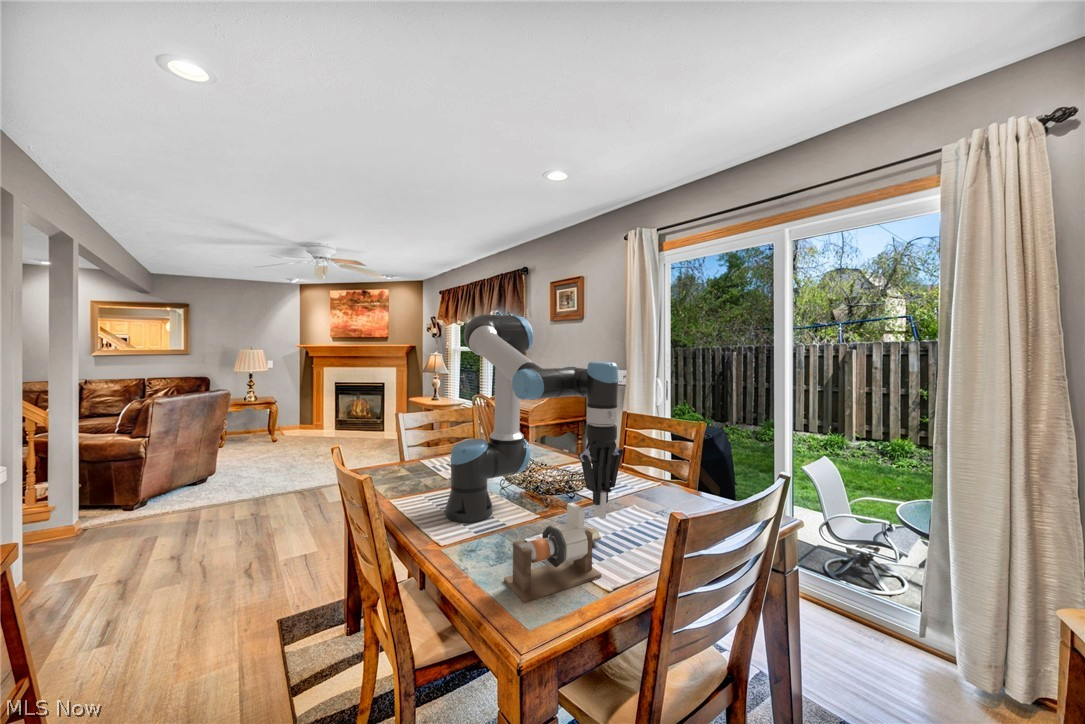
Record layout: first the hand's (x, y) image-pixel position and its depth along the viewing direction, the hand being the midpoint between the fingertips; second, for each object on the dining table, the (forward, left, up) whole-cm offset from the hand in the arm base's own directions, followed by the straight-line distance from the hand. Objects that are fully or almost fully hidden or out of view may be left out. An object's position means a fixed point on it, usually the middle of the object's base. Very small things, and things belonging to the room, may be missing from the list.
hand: (600, 516), depth 111 cm
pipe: (0, -14, -7) cm, 15 cm away
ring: (0, -14, -9) cm, 16 cm away
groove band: (0, -18, -7) cm, 19 cm away
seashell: (-13, +3, -13) cm, 19 cm away
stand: (0, -14, -12) cm, 19 cm away
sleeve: (0, -10, -8) cm, 13 cm away
